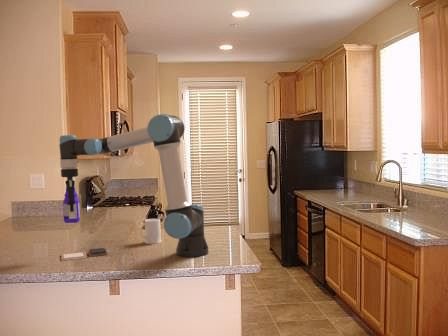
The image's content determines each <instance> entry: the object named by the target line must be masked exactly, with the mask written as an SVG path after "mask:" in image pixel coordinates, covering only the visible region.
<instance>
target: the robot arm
mask: <svg viewBox="0 0 448 336" xmlns="http://www.w3.org/2000/svg"><path fill="white" fill-rule="evenodd" d="M185 129H186V127H185V124H184V121H183V120H182V119H181V118H180V117H179V116H176V115H171V114H166V113H162V114H156V115H154V116H152V117H151V118H150V119H149V121H148V123H147V127H144V128H143V127H142V128H138V129H136V130H131V131H126V132H124V133H123V132H122V133H119V134H115V135H111V136H108V137H107V136H106V137H103V138H93V137H92V138H77V135H75V134H73V135H72V134H68V135H65V134H64V135H60V136H59V145H58V146H59V152H60V153H59V155H60V156H59V158H60V159H59V160H60V164H59V165H60V168H61V169H60V176H61V178H66V179H67V180H66V181H65V187H66V186H67V191H68V200H69V203H67V205H68V207H69V219H74V218H75V201H74V189H75V190H76V187H75V188H74V185H75V184H76V183H75V180H73V178H74V177H75V178H76V177H78V176H79V170H78V164H79V162H80V161H79V160H78V156H97V155H108V154H111V153H112V152H113V153H114V152H117V151H121V150H126V149H130V148H135V147H138V146H142V145H147V144H151V143H153V147H154V149H156V150H157V151H158V155H159V161H160V162H159V163H160V167H161V173H162V179H163V185H164V192H165V197H166V202H167V203H166V204H167V205H166V207H165V209H164V210H165V211H164V212H165V219H164V220H163V228H164V231H165V232H166V234H167V235H168V236H169V237H171V238H172V239H176V240H178V242H177V245H176V248H175V253H176V255H177V256H178V257H184V258H193V257H202V256H205V255H208V254H209V253H210V252H209V245H208V243H207V240H206V238H205V223H204V220H205V219H204V217H205V216H204V214H205V213H204V206H203V204H191V202H188V200H187V199H188V198H187V194H186V188H185V182H184V176H183V169H182V163H181V159H180V158H181V157H180V152H179V151H180V150H179V147H180V145H181V143H182V142H181V138H182V137H183V135H184V134H185Z"/></svg>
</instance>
